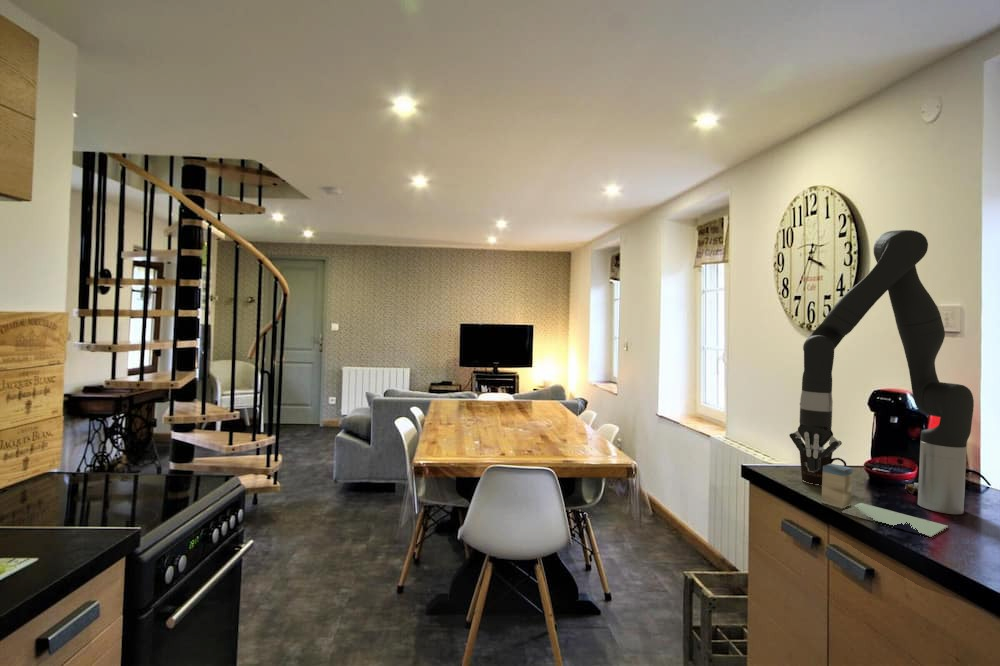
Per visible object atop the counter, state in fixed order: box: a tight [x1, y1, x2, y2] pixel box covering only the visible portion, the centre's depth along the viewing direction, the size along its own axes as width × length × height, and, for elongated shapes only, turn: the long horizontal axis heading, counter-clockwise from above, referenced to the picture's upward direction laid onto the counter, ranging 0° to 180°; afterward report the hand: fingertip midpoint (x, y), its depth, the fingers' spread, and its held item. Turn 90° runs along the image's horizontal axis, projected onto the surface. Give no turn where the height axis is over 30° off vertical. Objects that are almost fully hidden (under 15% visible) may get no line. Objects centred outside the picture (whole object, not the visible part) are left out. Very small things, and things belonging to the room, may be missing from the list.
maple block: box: [820, 463, 853, 507], centre depth 135 cm, size 5×5×10 cm
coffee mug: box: [799, 448, 848, 485], centre depth 153 cm, size 12×9×10 cm
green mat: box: [850, 502, 949, 538], centre depth 125 cm, size 12×18×1 cm, turn 35°
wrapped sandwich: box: [904, 482, 919, 495], centre depth 146 cm, size 7×12×4 cm, turn 42°
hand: (813, 470), depth 140 cm, fingers closed
